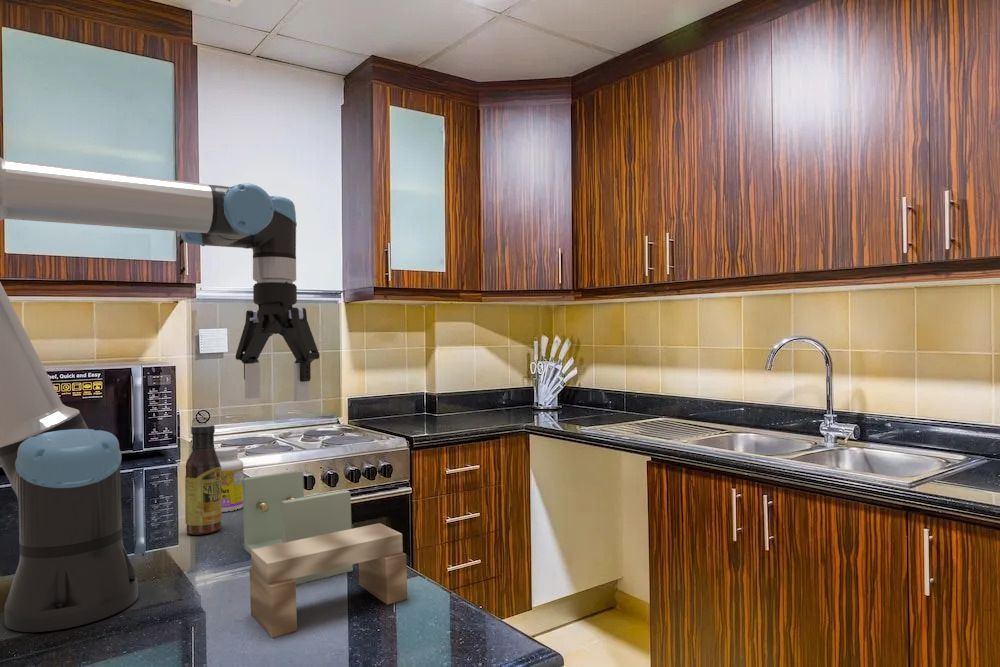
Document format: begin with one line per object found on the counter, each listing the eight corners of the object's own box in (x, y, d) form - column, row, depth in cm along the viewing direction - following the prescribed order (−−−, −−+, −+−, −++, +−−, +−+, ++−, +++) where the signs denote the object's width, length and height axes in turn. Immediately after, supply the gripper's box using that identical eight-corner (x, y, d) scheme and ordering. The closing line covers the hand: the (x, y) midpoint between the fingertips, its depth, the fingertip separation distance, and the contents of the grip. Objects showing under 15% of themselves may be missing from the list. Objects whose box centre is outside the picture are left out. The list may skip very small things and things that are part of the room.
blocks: (271, 637, 78) (270, 587, 78) (250, 613, 86) (249, 567, 86) (407, 598, 89) (406, 554, 89) (378, 580, 96) (377, 538, 96)
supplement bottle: (203, 512, 139) (201, 450, 139) (226, 504, 145) (224, 445, 145) (229, 513, 137) (227, 451, 137) (251, 505, 143) (249, 446, 143)
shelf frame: (352, 570, 100) (350, 491, 101) (286, 587, 95) (284, 503, 95) (302, 537, 119) (300, 470, 119) (244, 548, 113) (242, 478, 113)
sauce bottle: (208, 536, 121) (205, 428, 121) (178, 535, 122) (175, 428, 122) (229, 526, 127) (226, 423, 127) (201, 525, 128) (198, 423, 129)
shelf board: (267, 584, 79) (267, 563, 79) (251, 569, 85) (251, 549, 85) (402, 552, 90) (402, 533, 90) (380, 540, 95) (379, 523, 95)
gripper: (338, 279, 117) (340, 399, 117) (249, 288, 131) (250, 395, 130) (305, 276, 111) (306, 403, 111) (215, 285, 125) (216, 398, 124)
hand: (276, 399), depth 121 cm, fingers open, 13 cm apart
